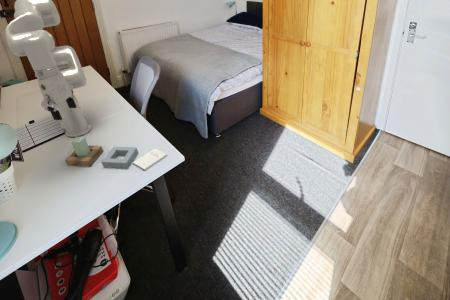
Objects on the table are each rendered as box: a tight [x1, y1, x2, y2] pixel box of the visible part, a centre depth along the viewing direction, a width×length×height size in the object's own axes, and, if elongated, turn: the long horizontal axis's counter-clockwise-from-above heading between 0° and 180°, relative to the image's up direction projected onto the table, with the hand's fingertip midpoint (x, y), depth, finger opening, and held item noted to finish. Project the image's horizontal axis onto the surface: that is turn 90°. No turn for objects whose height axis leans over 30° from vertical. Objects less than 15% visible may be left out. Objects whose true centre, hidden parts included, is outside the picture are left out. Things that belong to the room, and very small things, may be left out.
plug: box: [70, 136, 91, 157], centre depth 122 cm, size 4×4×10 cm
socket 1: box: [65, 145, 104, 168], centre depth 124 cm, size 11×11×3 cm
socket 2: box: [101, 146, 139, 170], centre depth 121 cm, size 11×11×3 cm
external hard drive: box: [132, 148, 168, 172], centre depth 121 cm, size 2×8×12 cm
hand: (66, 113), depth 111 cm, fingers open, 9 cm apart
